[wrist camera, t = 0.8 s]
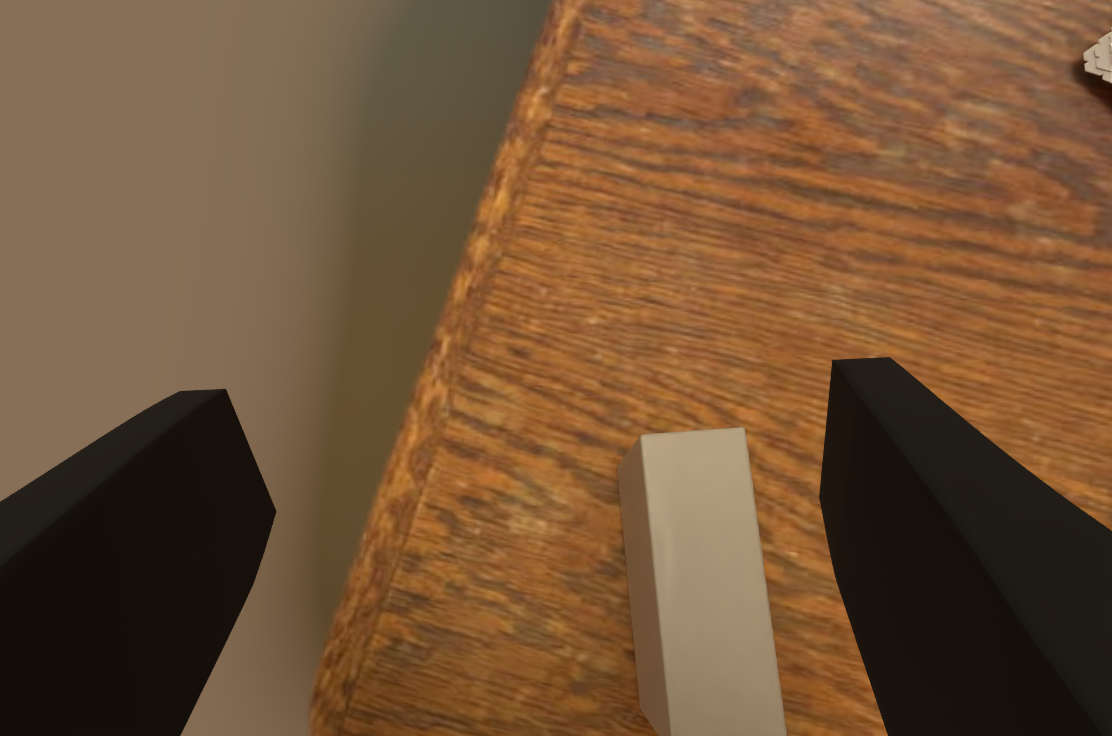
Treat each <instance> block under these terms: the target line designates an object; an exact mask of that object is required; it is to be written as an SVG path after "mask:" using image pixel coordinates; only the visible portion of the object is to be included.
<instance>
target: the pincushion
mask: <svg viewBox="0 0 1112 736" xmlns="http://www.w3.org/2000/svg"><path fill="white" fill-rule="evenodd" d="M1111 31H1112V28H1111ZM1098 43H1099V44H1095V45H1094V46H1093V47H1091V48H1090V49H1088V50H1087V51H1086V52H1084V53H1083V57H1084V61H1087V63H1085V65H1084V66H1085V72H1089V73H1092V74H1095V75H1099V76H1101V75H1103V77H1102V80H1104V81H1107V82H1109V83H1111V84H1112V32H1110V33H1108V34H1106V35H1105V36H1103V37H1101V38H1100V39H1098Z"/></svg>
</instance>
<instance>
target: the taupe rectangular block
mask: <svg viewBox="0 0 1112 736" xmlns="http://www.w3.org/2000/svg"><path fill="white" fill-rule="evenodd" d="M617 475H618V485H619V495H620V506H621V516H622V526H623V537H624V547H625V558H626V568H627V578H628V589H629V599H630V610H631V620H632V630H633V641H634V651H635V661H636V672H637V682H638V693H639V703H640V709H641V711H642V713H643V714H644V716H645V717H646V718H647V720H648V721H649V723H650V724H651V726H652V727H653V729H654V730H655V732H656V733H657V735H658V736H787V731H786V724H785V716H784V709H783V702H782V694H781V687H780V680H779V673H778V665H777V658H776V651H775V643H774V636H773V629H772V621H771V614H770V607H769V599H768V592H767V585H766V577H765V570H764V563H763V555H762V548H761V541H760V534H759V526H758V519H757V512H756V504H755V497H754V490H753V482H752V475H751V468H750V460H749V453H748V446H747V438H746V431H745V429H744V428H743V427H736V428H723V429H710V430H696V431H683V432H670V433H656V434H643V435H641V436H640V437H639V438H638V439H637V441H636V442H635V443H634V445H633V446H632V447H631V449H630V450H629V451H628V453H627V454H626V455H625V457H624V458H623V459H622V461H621V462H620V463H619V465H618V466H617Z"/></svg>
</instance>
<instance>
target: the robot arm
mask: <svg viewBox="0 0 1112 736" xmlns="http://www.w3.org/2000/svg"><path fill="white" fill-rule="evenodd" d="M819 498H820V503H821V509H822V514H823V519H824V524H825V530H826V535H827V540H828V545H829V550H830V555H831V559H832V564H833V569H834V574H835V577H836V581H837V584H838V587H839V590H840V593H841V596H842V599H843V602H844V605H845V608H846V611H847V614H848V617H849V620H850V623H851V626H852V629H853V633H854V636H855V639H856V642H857V645H858V648H859V650H860V653H861V656H862V659H863V662H864V665H865V668H866V671H867V674H868V677H869V680H870V683H871V686H872V689H873V692H874V695H875V698H876V701H877V704H878V707H879V710H880V713H881V716H882V719H883V722H884V725H885V728H886V731H887V734H888V736H1112V531H1111V530H1110V529H1108V528H1107V527H1105V526H1104V525H1103V524H1101V523H1100V522H1098V521H1097V520H1095V519H1094V518H1093V517H1091V516H1090V515H1088V514H1087V513H1085V512H1084V511H1083V510H1081V509H1080V508H1078V507H1077V506H1076V505H1074V504H1073V503H1071V502H1070V501H1068V500H1067V499H1066V498H1064V497H1063V496H1062V495H1060V494H1059V493H1058V492H1056V491H1055V490H1054V489H1052V488H1051V487H1050V486H1048V485H1047V484H1046V483H1044V482H1043V481H1042V480H1040V479H1039V478H1038V477H1036V476H1035V475H1034V474H1032V473H1031V472H1030V471H1028V470H1027V469H1026V468H1025V467H1023V466H1022V465H1021V464H1019V463H1018V462H1017V461H1015V460H1014V459H1013V458H1012V457H1010V456H1009V455H1008V454H1007V453H1005V452H1004V451H1003V450H1002V449H1000V448H999V447H998V446H996V445H995V444H994V443H993V442H991V441H990V440H989V439H988V438H987V437H985V436H984V435H983V434H982V433H980V432H979V431H978V430H977V429H975V428H974V427H973V426H972V425H971V424H969V423H968V422H967V421H966V420H965V419H963V418H962V417H961V416H960V415H959V414H957V413H956V412H955V411H954V410H953V409H951V408H950V407H949V406H948V405H947V404H945V403H944V402H943V401H942V400H941V399H939V398H938V397H937V396H936V395H935V394H934V393H932V392H931V391H930V390H929V389H928V388H926V387H925V386H924V385H923V384H922V383H921V382H919V381H918V380H917V379H916V378H915V377H913V376H912V375H911V374H910V373H909V372H907V371H906V370H905V369H904V368H903V367H901V366H900V365H899V364H898V363H896V362H895V361H894V360H893V359H891V358H890V357H884V358H863V359H842V360H832V369H831V380H830V390H829V401H828V411H827V421H826V432H825V442H824V453H823V463H822V473H821V484H820V494H819ZM275 514H276V509H275V507H274V504H273V502H272V500H271V497H270V495H269V492H268V490H267V487H266V485H265V483H264V480H263V478H262V475H261V473H260V471H259V468H258V466H257V463H256V461H255V458H254V456H253V454H252V451H251V449H250V447H249V444H248V442H247V439H246V437H245V434H244V432H243V430H242V427H241V424H240V422H239V420H238V417H237V415H236V412H235V410H234V407H233V405H232V403H231V400H230V398H229V395H228V393H227V390H226V389H216V390H193V391H180V392H177V393H175V394H174V395H171V396H169V397H167V398H166V399H164V400H162V401H160V402H158V403H156V404H154V405H153V406H151V407H149V408H148V409H146V410H144V411H143V412H141V413H139V414H137V415H136V416H134V417H132V418H131V419H129V420H128V421H126V422H124V423H123V424H121V425H120V426H118V427H116V428H115V429H113V430H112V431H110V432H109V433H107V434H105V435H104V436H102V437H101V438H99V439H97V440H96V441H94V442H93V443H91V444H90V445H88V446H87V447H85V448H84V449H82V450H80V451H79V452H77V453H76V454H74V455H73V456H71V457H69V458H68V459H66V460H65V461H63V462H62V463H60V464H59V465H57V466H55V467H54V468H52V469H51V470H49V471H48V472H46V473H45V474H43V475H42V476H40V477H38V478H37V479H35V480H34V481H32V482H31V483H29V484H28V485H26V486H24V487H23V488H21V489H20V490H18V491H17V492H15V493H14V494H12V495H10V496H9V497H7V498H6V499H4V500H2V501H1V502H0V736H180V735H181V733H182V731H183V729H184V727H185V725H186V723H187V721H188V719H189V717H190V714H191V713H192V710H193V709H194V707H195V705H196V702H197V700H198V698H199V696H200V694H201V692H202V690H203V688H204V686H205V684H206V682H207V680H208V678H209V676H210V674H211V672H212V670H213V668H214V666H215V664H216V662H217V659H218V658H219V656H220V653H221V651H222V649H223V647H224V645H225V643H226V641H227V639H228V637H229V635H230V633H231V630H232V629H233V626H234V624H235V622H236V620H237V618H238V616H239V613H240V612H241V610H242V608H243V605H244V603H245V601H246V599H247V597H248V594H249V592H250V590H251V588H252V586H253V583H254V581H255V578H256V574H257V572H258V569H259V566H260V563H261V560H262V557H263V554H264V551H265V548H266V545H267V541H268V538H269V535H270V531H271V528H272V525H273V521H274V518H275Z"/></svg>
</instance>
